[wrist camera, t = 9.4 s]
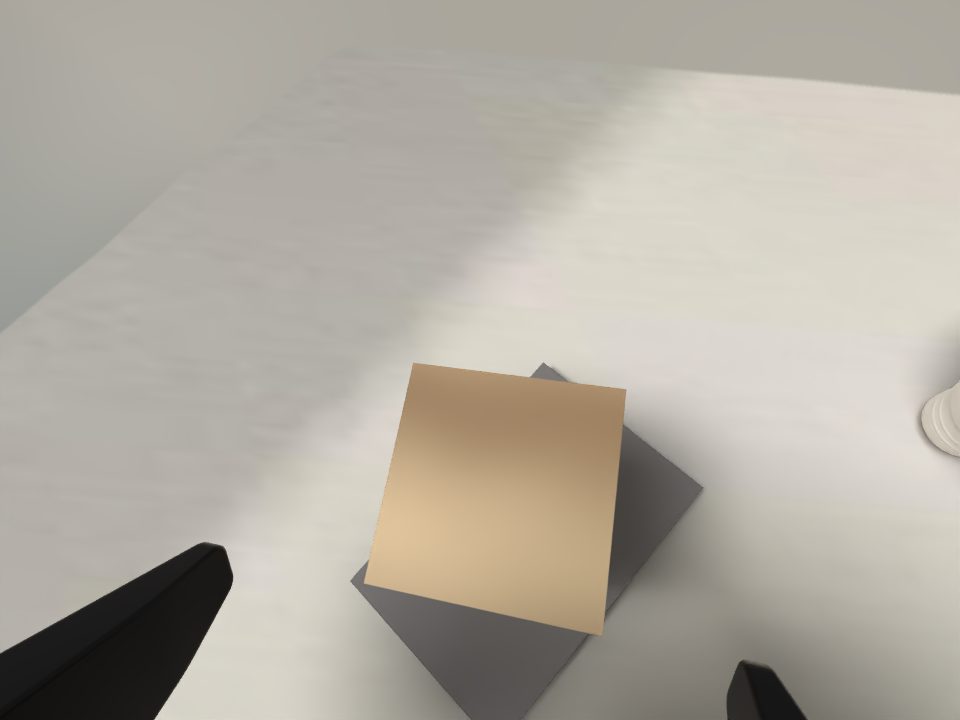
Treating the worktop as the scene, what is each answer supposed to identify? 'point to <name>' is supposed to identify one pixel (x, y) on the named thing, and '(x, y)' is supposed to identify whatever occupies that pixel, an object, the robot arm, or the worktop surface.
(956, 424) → the lightbulb
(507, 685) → the charcoal mat
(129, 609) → the robot arm
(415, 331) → the worktop surface
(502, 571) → the oak block
